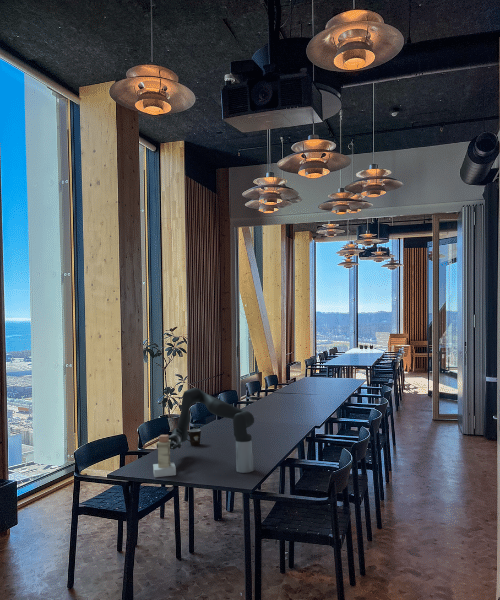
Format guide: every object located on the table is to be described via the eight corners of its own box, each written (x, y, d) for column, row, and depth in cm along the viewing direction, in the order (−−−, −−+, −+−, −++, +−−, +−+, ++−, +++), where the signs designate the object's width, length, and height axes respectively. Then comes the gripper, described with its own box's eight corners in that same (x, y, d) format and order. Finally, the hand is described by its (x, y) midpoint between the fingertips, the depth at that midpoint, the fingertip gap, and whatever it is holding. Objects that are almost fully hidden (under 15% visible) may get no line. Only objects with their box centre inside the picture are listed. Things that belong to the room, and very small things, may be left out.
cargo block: (161, 440, 286) (161, 434, 286) (168, 440, 285) (168, 434, 285) (159, 442, 281) (158, 436, 281) (166, 442, 281) (166, 436, 281)
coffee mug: (202, 443, 350) (202, 429, 351) (200, 446, 342) (199, 431, 342) (186, 443, 352) (186, 429, 352) (183, 446, 343) (183, 432, 343)
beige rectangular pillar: (160, 464, 286) (159, 440, 287) (171, 464, 285) (170, 439, 286) (157, 467, 279) (156, 442, 280) (168, 467, 279) (167, 442, 280)
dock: (173, 469, 289) (173, 462, 290) (175, 475, 278) (175, 467, 278) (153, 471, 286) (153, 464, 287) (154, 477, 275) (154, 470, 275)
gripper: (161, 435, 305) (154, 441, 289) (184, 435, 304) (178, 441, 287) (162, 447, 305) (154, 454, 288) (184, 447, 303) (178, 454, 287)
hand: (166, 448), depth 288 cm, fingers open, 8 cm apart
